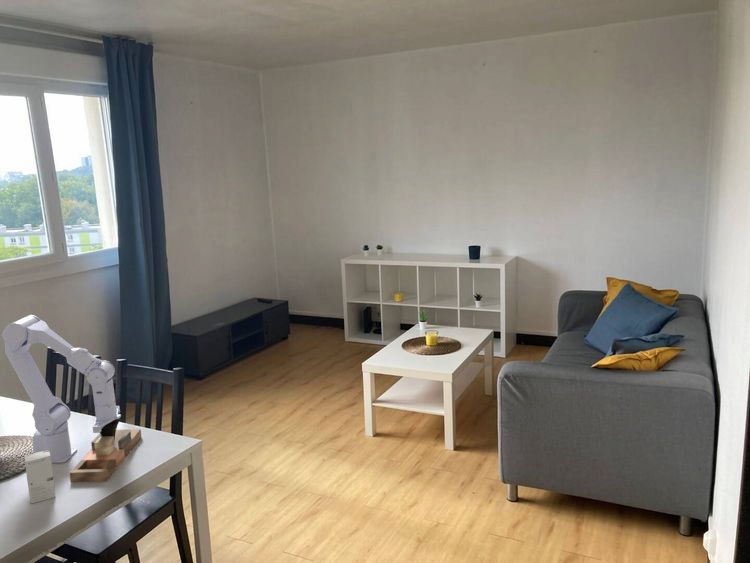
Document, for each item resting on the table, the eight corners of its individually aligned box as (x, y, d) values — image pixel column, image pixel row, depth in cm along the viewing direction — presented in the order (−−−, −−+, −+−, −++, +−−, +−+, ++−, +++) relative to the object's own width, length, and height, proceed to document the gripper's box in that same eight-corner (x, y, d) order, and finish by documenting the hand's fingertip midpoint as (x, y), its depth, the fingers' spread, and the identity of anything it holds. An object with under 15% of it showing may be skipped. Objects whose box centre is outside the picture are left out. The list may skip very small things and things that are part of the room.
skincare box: (30, 504, 156) (24, 462, 154) (29, 496, 160) (22, 455, 158) (56, 496, 160) (50, 455, 157) (55, 489, 163) (49, 448, 161)
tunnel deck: (70, 482, 167) (68, 464, 166) (110, 438, 193) (108, 422, 192) (106, 481, 167) (104, 463, 166) (141, 437, 193) (139, 421, 192)
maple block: (95, 455, 176) (94, 442, 175) (101, 448, 179) (100, 436, 179) (109, 455, 176) (108, 442, 175) (115, 448, 180) (113, 436, 179)
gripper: (108, 412, 171) (113, 455, 174) (127, 392, 185) (132, 432, 188) (83, 412, 171) (89, 456, 174) (104, 393, 185) (109, 433, 188)
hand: (109, 444), depth 181 cm, fingers closed
